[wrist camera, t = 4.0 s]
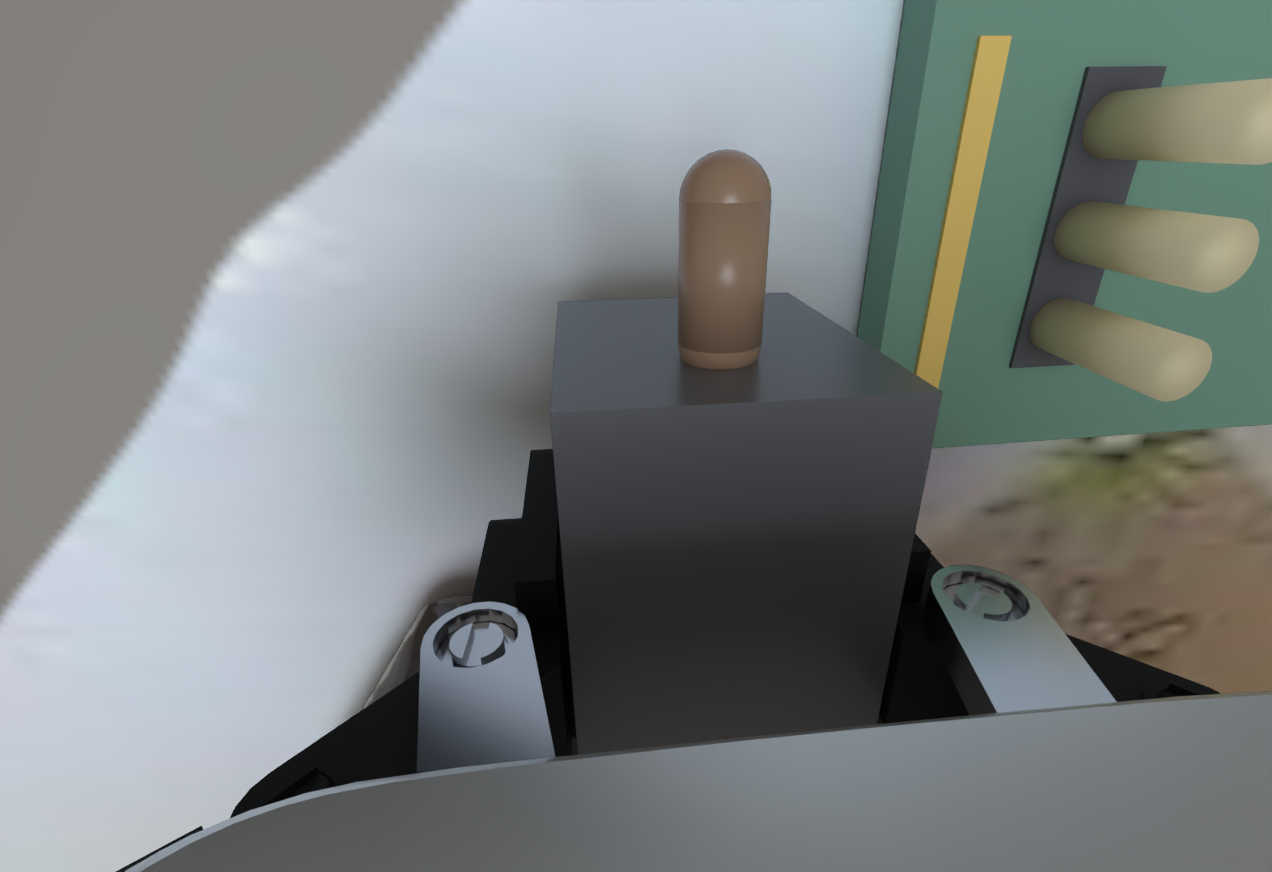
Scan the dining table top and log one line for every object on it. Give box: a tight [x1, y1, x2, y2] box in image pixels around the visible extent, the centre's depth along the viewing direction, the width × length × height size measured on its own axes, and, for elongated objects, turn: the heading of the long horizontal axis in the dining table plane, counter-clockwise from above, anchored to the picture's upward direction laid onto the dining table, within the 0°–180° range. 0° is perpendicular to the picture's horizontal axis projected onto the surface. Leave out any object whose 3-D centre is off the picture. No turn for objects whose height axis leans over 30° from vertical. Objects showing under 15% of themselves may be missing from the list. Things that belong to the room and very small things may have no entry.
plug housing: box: [550, 149, 943, 755], centre depth 10 cm, size 10×4×5 cm, turn 1°
